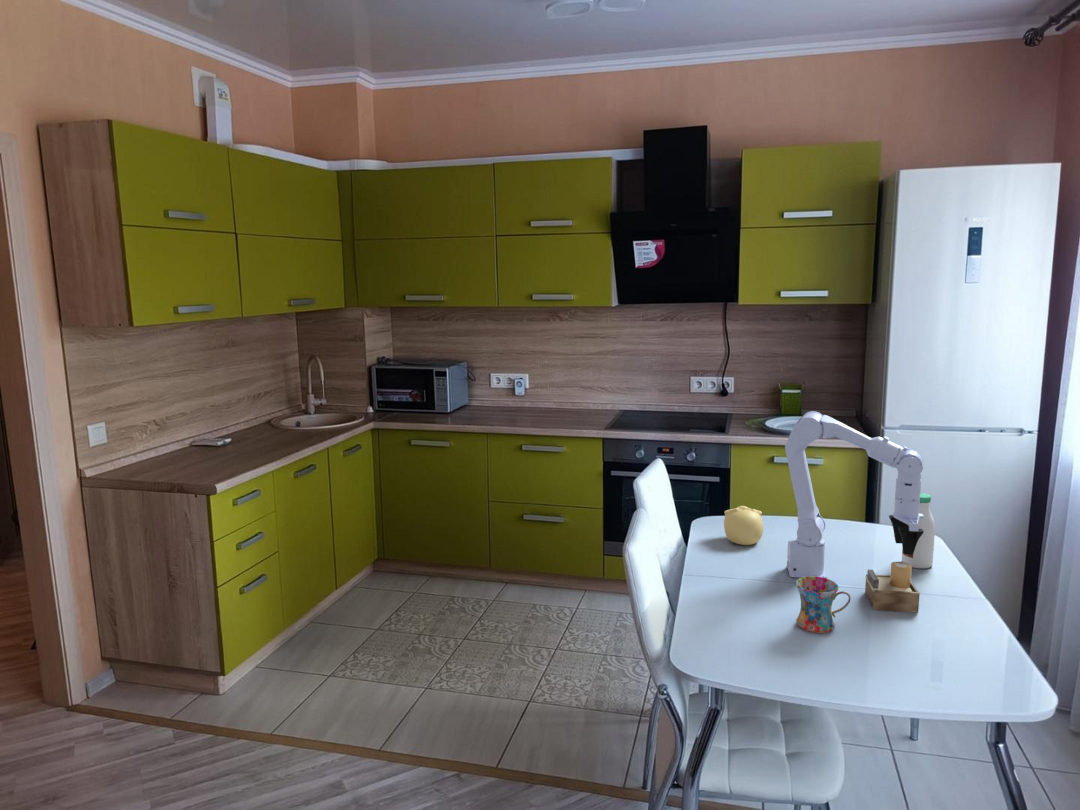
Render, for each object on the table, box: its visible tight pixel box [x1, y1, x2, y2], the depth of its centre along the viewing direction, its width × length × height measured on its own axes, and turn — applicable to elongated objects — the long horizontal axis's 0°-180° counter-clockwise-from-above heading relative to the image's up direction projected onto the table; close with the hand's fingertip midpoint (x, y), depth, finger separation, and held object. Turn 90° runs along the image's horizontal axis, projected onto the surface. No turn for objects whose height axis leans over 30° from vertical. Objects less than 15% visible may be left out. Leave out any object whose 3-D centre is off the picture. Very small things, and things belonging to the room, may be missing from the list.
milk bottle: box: [901, 492, 936, 570], centre depth 211 cm, size 8×8×20 cm
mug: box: [795, 576, 852, 634], centre depth 178 cm, size 12×9×11 cm
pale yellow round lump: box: [723, 505, 764, 546], centre depth 232 cm, size 11×12×11 cm
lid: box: [865, 568, 913, 592], centre depth 190 cm, size 9×8×3 cm
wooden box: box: [864, 574, 921, 613], centre depth 190 cm, size 10×10×5 cm
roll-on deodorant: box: [889, 561, 913, 588], centre depth 189 cm, size 5×5×5 cm
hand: (904, 548), depth 197 cm, fingers open, 7 cm apart
